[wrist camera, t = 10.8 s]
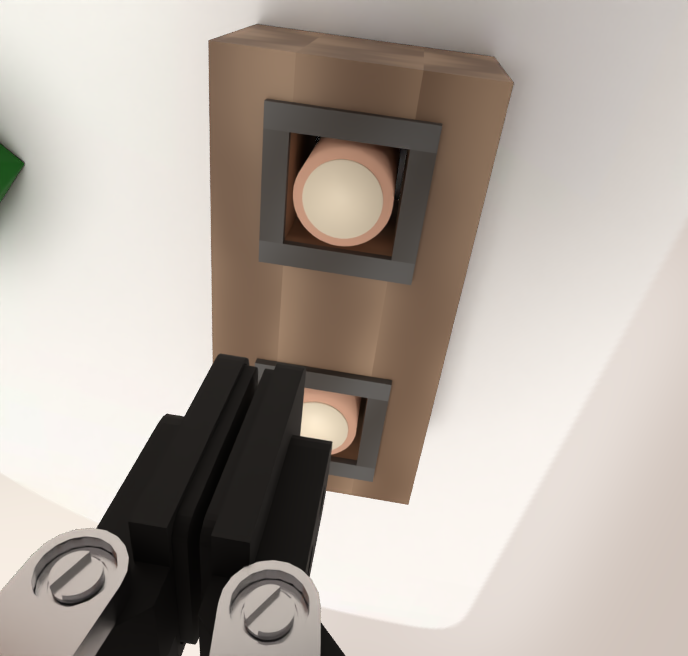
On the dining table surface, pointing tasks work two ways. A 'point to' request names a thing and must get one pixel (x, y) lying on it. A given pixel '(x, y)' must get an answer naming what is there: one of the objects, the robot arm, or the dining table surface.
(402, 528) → the dining table surface
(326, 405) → the peg
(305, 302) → the walnut block
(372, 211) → the peg
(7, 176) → the milk carton
